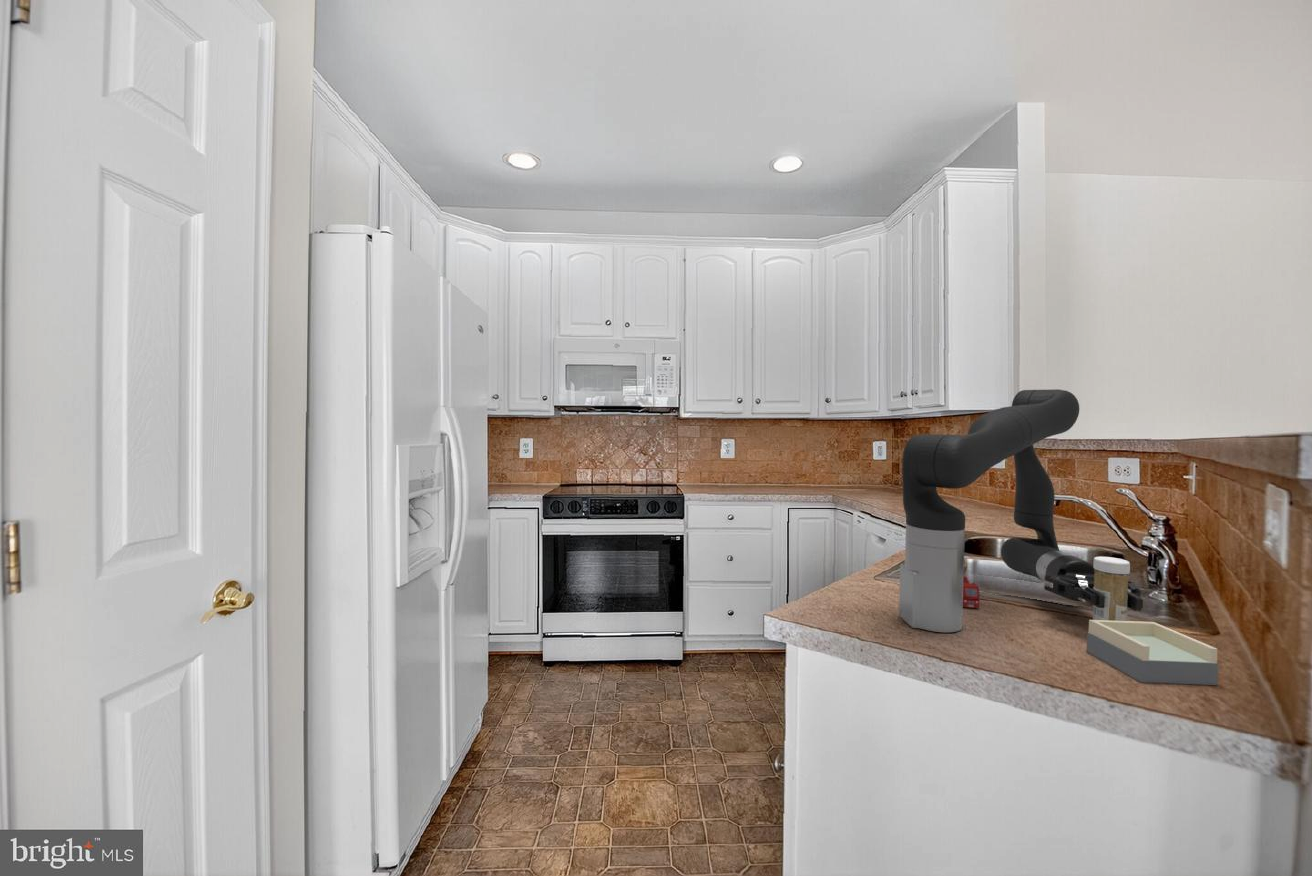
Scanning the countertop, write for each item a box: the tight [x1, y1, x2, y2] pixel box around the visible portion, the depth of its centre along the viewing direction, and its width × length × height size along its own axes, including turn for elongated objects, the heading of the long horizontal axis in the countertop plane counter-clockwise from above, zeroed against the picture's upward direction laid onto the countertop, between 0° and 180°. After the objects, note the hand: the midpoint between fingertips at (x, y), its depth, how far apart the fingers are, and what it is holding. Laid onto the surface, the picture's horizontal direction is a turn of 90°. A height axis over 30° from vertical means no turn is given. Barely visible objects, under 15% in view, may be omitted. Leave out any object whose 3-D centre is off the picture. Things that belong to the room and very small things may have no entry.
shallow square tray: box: [1086, 619, 1219, 686], centre depth 79 cm, size 10×10×5 cm
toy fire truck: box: [963, 558, 980, 609], centre depth 109 cm, size 3×14×10 cm, turn 168°
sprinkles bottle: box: [1092, 556, 1131, 621], centre depth 88 cm, size 5×5×14 cm
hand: (1120, 603), depth 86 cm, fingers closed on sprinkles bottle, 4 cm apart
